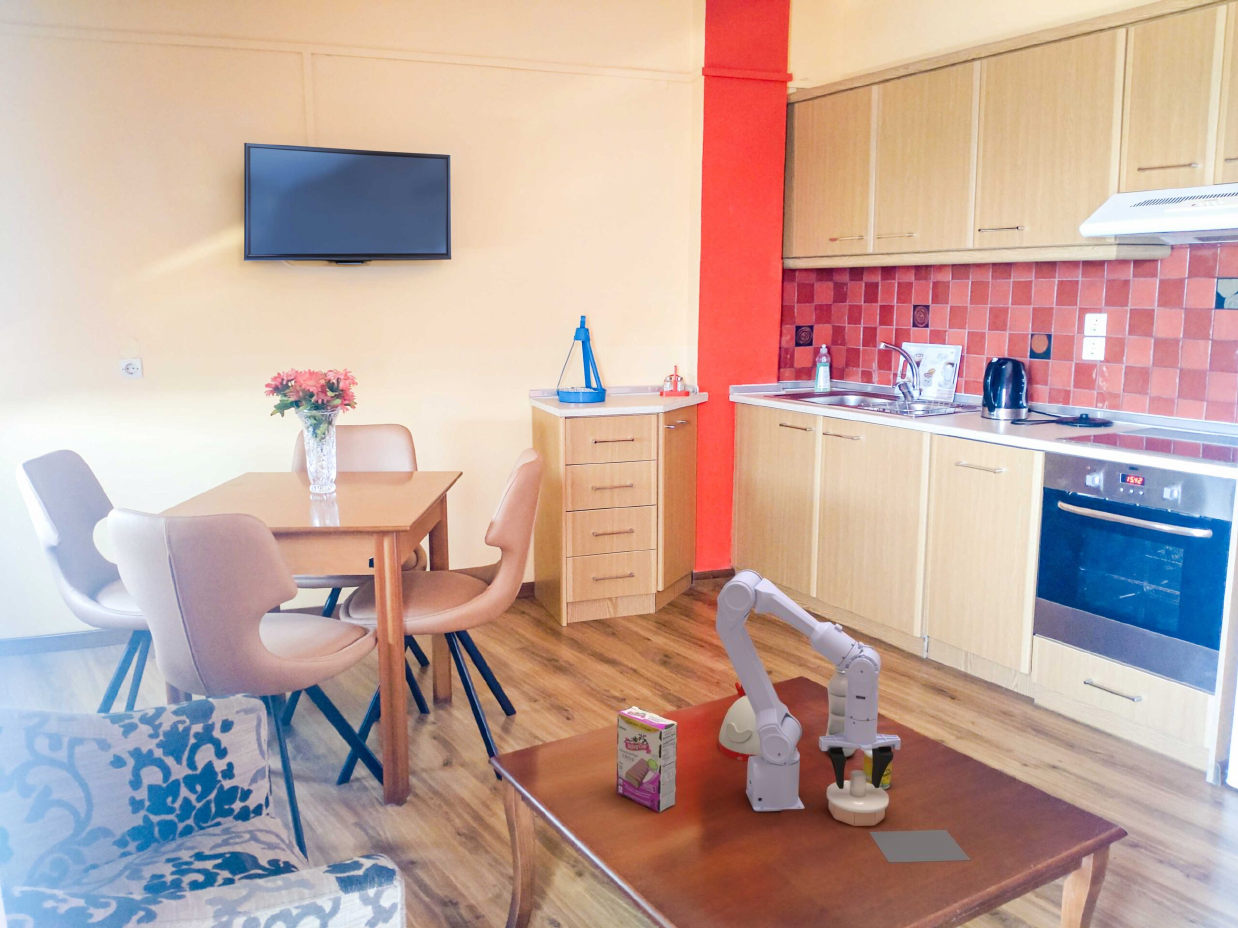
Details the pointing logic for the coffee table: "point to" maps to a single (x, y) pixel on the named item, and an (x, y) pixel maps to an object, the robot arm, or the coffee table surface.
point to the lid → (858, 795)
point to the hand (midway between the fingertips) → (857, 785)
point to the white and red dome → (740, 730)
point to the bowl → (856, 816)
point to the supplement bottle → (868, 769)
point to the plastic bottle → (837, 705)
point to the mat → (918, 846)
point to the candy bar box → (646, 758)
